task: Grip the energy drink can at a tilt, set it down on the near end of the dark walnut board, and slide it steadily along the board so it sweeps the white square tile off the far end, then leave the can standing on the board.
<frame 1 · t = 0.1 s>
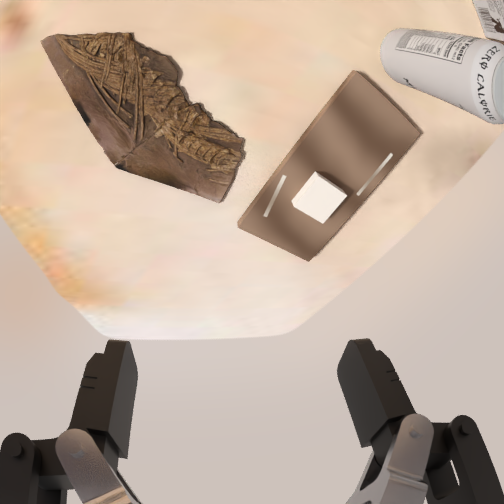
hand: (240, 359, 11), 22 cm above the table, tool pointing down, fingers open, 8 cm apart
walnut board: (329, 173, 31), on the table
energy drink can: (400, 55, 23), on the table
wooden fragment: (135, 108, 25), on the table
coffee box: (495, 9, 17), on the table
white square tile: (317, 195, 31), point 1 cm above the table, touching walnut board
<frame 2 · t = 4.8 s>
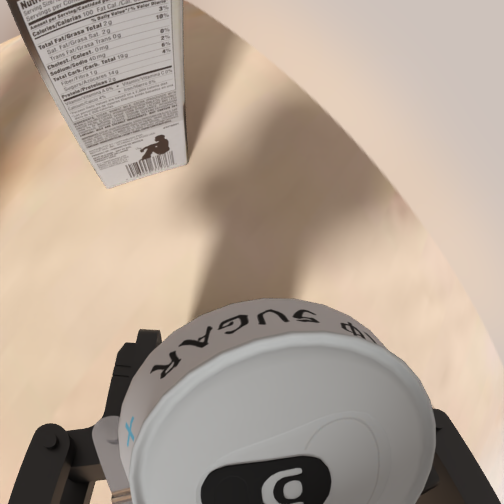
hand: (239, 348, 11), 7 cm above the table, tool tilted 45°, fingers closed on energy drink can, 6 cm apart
energy drink can: (228, 367, 18), on the table, touching gripper
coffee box: (137, 131, 21), on the table
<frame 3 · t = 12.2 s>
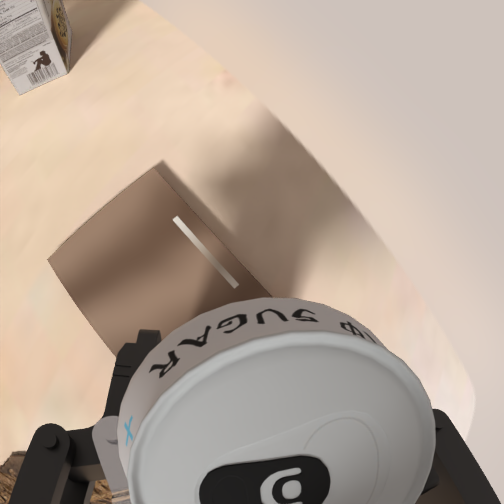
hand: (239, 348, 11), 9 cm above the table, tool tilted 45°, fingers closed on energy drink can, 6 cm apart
walnut board: (192, 327, 19), on the table
energy drink can: (228, 367, 18), point 1 cm above the table, touching gripper
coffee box: (47, 62, 23), on the table
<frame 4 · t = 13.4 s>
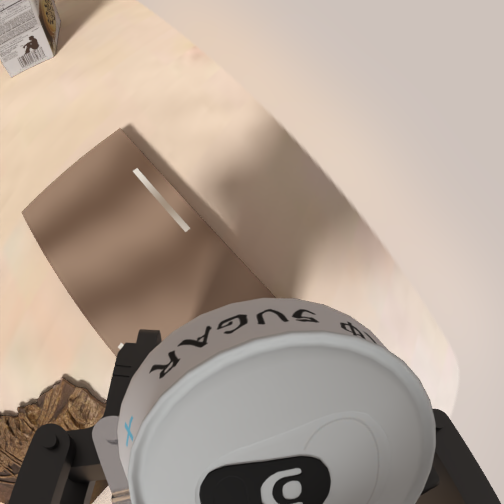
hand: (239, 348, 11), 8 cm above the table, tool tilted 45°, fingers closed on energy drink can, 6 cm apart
walnut board: (145, 271, 19), on the table
energy drink can: (228, 367, 18), point 1 cm above the table, touching gripper
wooden fragment: (23, 464, 14), on the table
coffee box: (36, 48, 23), on the table
when the fingers open (8 cm above the table, at t = 14.0 s): energy drink can stays where it is, resting on walnut board.
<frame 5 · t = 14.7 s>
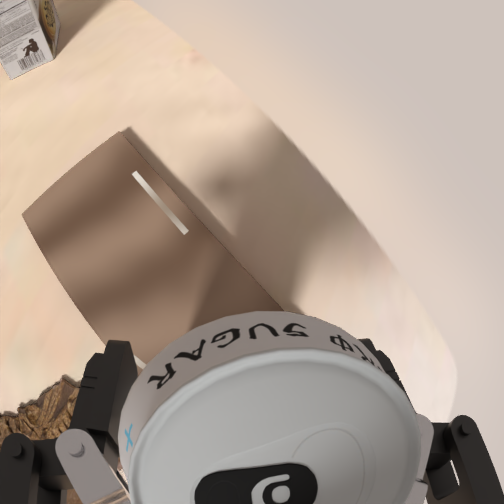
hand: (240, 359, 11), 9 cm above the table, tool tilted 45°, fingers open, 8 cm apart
walnut board: (144, 274, 20), on the table
energy drink can: (227, 369, 18), point 1 cm above the table, touching walnut board
wooden fragment: (23, 464, 14), on the table
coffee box: (36, 51, 23), on the table
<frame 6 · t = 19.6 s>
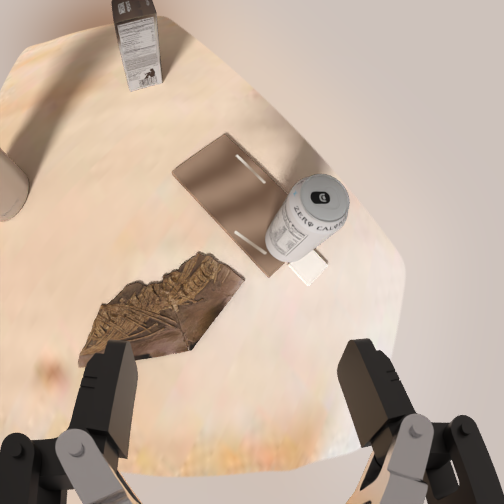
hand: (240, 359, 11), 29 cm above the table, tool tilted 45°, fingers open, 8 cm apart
walnut board: (244, 201, 43), on the table
energy drink can: (285, 242, 42), point 1 cm above the table, touching walnut board
wooden fragment: (154, 320, 38), on the table
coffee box: (143, 73, 47), on the table
white square tile: (306, 266, 43), on the table
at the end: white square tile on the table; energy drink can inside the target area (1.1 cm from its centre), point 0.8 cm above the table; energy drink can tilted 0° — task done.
